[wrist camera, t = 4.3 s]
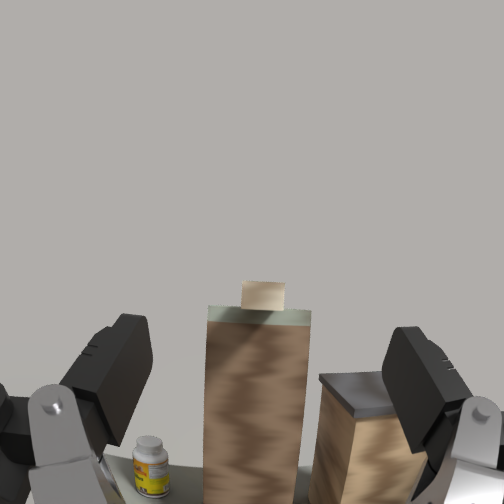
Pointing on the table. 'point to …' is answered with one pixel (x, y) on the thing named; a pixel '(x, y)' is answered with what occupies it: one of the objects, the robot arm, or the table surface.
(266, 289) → the slat
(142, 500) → the table surface
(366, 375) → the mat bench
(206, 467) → the walnut stand
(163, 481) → the supplement bottle
